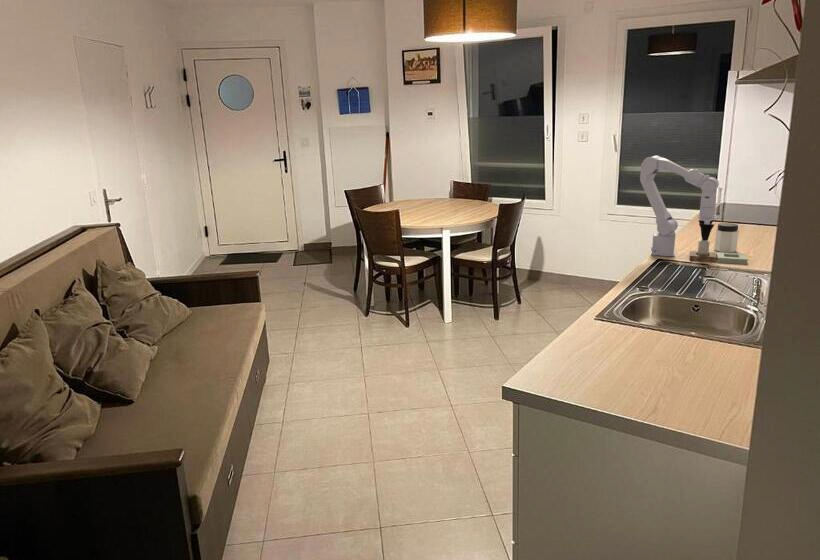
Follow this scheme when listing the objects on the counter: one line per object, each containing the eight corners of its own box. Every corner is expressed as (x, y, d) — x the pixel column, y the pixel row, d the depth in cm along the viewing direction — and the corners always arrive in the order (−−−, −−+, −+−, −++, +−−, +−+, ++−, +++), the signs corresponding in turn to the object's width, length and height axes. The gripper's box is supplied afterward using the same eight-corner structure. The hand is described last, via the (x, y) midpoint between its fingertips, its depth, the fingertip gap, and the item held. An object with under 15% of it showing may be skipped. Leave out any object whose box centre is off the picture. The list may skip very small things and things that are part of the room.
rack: (717, 262, 256) (717, 257, 256) (715, 256, 266) (716, 252, 266) (746, 264, 252) (747, 259, 252) (744, 258, 262) (744, 253, 262)
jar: (739, 252, 272) (742, 226, 269) (721, 253, 272) (724, 226, 269) (728, 248, 281) (731, 222, 278) (711, 248, 281) (714, 223, 278)
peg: (697, 259, 262) (699, 241, 260) (697, 257, 266) (698, 239, 264) (707, 260, 261) (709, 241, 259) (707, 257, 264) (709, 239, 262)
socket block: (689, 260, 261) (690, 255, 260) (689, 255, 270) (689, 250, 269) (715, 262, 257) (716, 257, 257) (714, 256, 266) (715, 252, 265)
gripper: (719, 209, 250) (715, 242, 253) (717, 204, 262) (714, 235, 266) (700, 209, 252) (697, 241, 256) (699, 204, 265) (696, 234, 269)
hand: (704, 238), depth 261 cm, fingers open, 7 cm apart
